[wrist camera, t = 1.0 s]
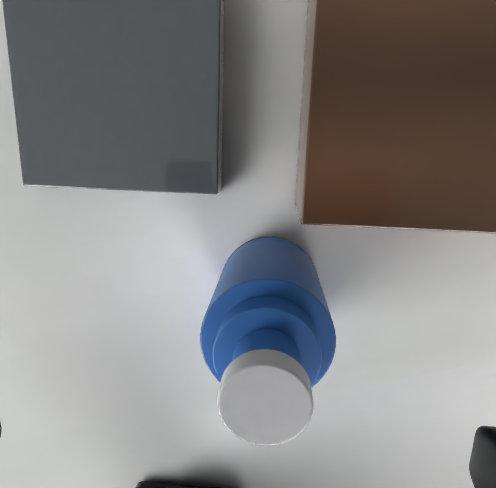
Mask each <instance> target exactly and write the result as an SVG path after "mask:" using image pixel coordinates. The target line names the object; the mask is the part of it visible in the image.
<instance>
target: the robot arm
mask: <svg viewBox="0 0 496 488" xmlns="http://www.w3.org/2000/svg"><path fill="white" fill-rule="evenodd" d="M0 437H1V423H0ZM469 469H470V475H471V479H472V482H473V484H474V487H475V488H496V427H492V426H481V427H479V428H478V429H477V430H476V433H475V438H474V443H473V448H472V453H471V458H470V464H469ZM136 488H219V487H207V486H195V485H184V484H172V483H160V482H148V481H141V482H139V483H138V484H137V486H136Z"/></svg>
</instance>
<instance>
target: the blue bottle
mask: <svg viewBox="0 0 496 488" xmlns="http://www.w3.org/2000/svg"><path fill="white" fill-rule="evenodd" d="M200 343H201V350H202V354H203V357H204V360H205V362H206V364H207V366H208V368H209V369H210V371H211V372H212V374H213V375H214V376H215V377H216V378H217V379H218V381H219V382H221V383H220V387H219V392H218V397H217V406H218V411H219V414H220V417H221V419H222V421H223V423H224V424H225V425H226V427H227V428H228V429H229V430H230V431H231V432H232V433H233V434H234V435H236V436H237V437H239V438H240V439H242V440H244V441H247V442H249V443H252V444H256V445H268V446H269V445H277V444H282V443H285V442H287V441H289V440H292V439H293V438H295V437H296V436H298V435H299V434H300V433H301V432H302V431H303V430H304V429H305V427H306V426H307V425H308V423H309V421H310V419H311V416H312V412H313V397H312V390H311V388H312V387H313V386H314V385H315V384H317V383H318V382H319V381H320V379H321V378H322V377H323V376H324V375H325V373H326V372H327V370H328V369H329V367H330V365H331V363H332V360H333V357H334V353H335V347H336V335H335V329H334V325H333V322H332V318H331V315H330V312H329V309H328V306H327V303H326V300H325V297H324V293H323V290H322V287H321V284H320V281H319V278H318V275H317V271H316V268H315V266H314V264H313V262H312V260H311V259H310V257H309V256H308V255H307V253H306V252H305V251H304V250H303V249H301V248H300V247H299V246H297V245H296V244H294V243H292V242H290V241H288V240H285V239H281V238H275V237H263V238H258V239H254V240H251V241H249V242H247V243H245V244H243V245H241V246H240V247H239V248H238V249H236V250H235V251H234V252H233V253H232V255H231V256H230V257H229V259H228V261H227V262H226V264H225V267H224V269H223V272H222V274H221V277H220V279H219V282H218V284H217V287H216V289H215V292H214V294H213V297H212V299H211V302H210V304H209V307H208V309H207V312H206V314H205V317H204V319H203V322H202V326H201V333H200Z"/></svg>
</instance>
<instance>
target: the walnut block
mask: <svg viewBox="0 0 496 488" xmlns="http://www.w3.org/2000/svg"><path fill="white" fill-rule="evenodd" d="M295 205H296V208H297V212H298V215H299V218H300V221H301V224H307V225H329V226H350V227H371V228H392V229H414V230H435V231H456V232H477V233H496V0H308V12H307V27H306V42H305V57H304V72H303V88H302V103H301V118H300V133H299V149H298V164H297V179H296V194H295Z"/></svg>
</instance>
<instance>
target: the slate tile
mask: <svg viewBox="0 0 496 488" xmlns="http://www.w3.org/2000/svg"><path fill="white" fill-rule="evenodd" d="M2 1H3V10H4V18H5V27H6V36H7V45H8V54H9V62H10V71H11V80H12V89H13V98H14V106H15V115H16V124H17V133H18V142H19V150H20V159H21V168H22V177H23V185H24V186H37V187H60V188H83V189H106V190H129V191H152V192H175V193H198V194H218V193H219V192H220V191H221V169H222V108H223V47H224V0H2Z"/></svg>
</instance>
